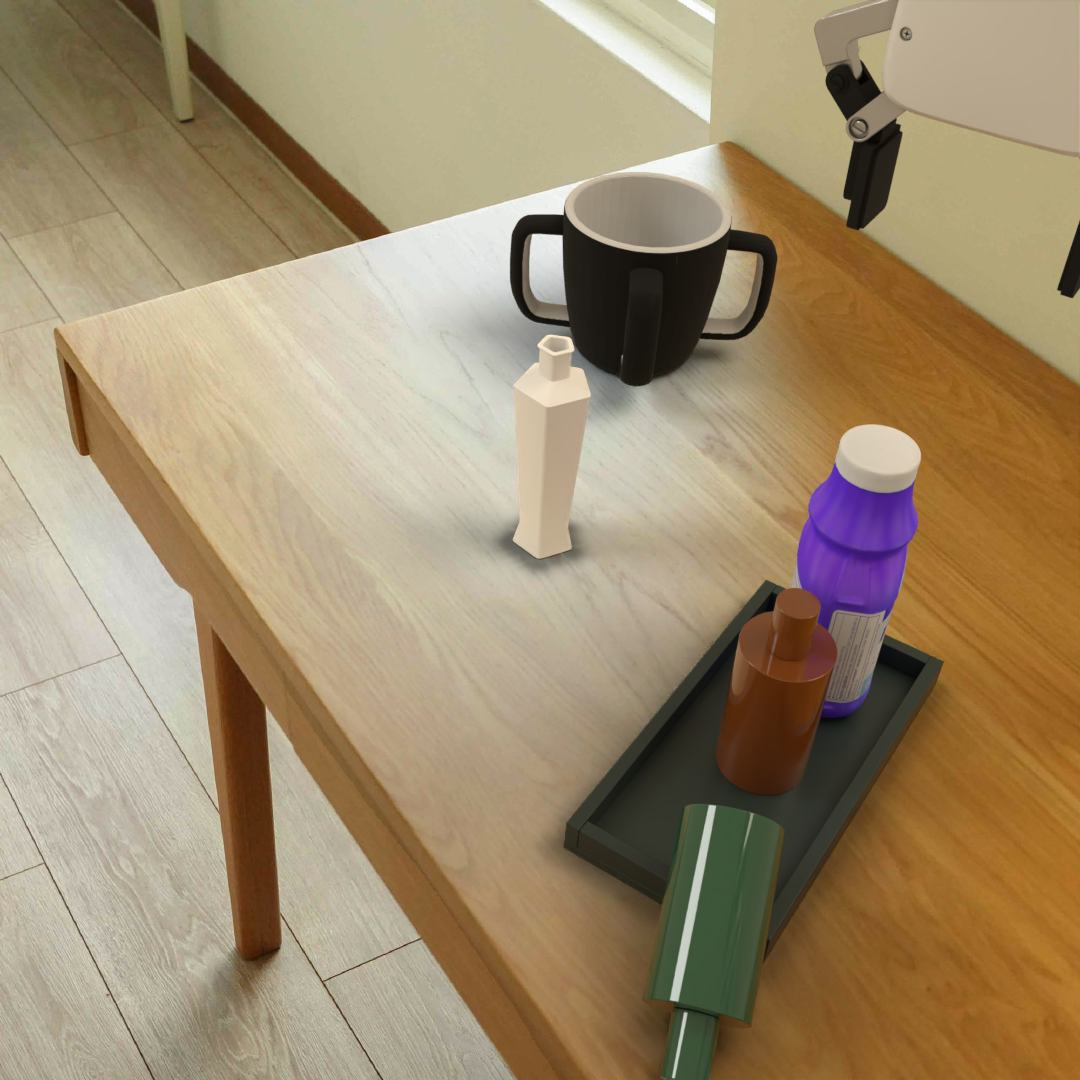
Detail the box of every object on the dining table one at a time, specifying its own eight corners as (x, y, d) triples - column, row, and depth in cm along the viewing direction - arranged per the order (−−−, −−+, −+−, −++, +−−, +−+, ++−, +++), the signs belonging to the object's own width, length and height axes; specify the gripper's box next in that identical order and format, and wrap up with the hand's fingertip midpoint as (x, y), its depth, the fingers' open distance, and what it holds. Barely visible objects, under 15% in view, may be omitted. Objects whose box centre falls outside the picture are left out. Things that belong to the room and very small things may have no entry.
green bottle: (807, 837, 64) (763, 1104, 59) (728, 837, 68) (681, 1088, 63) (737, 802, 61) (685, 1078, 56) (660, 804, 65) (605, 1063, 60)
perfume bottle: (502, 557, 86) (510, 362, 76) (514, 513, 90) (523, 321, 80) (572, 567, 86) (590, 372, 76) (582, 523, 89) (600, 331, 79)
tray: (935, 685, 80) (944, 661, 78) (763, 964, 65) (770, 940, 64) (760, 603, 84) (766, 578, 83) (563, 847, 70) (565, 822, 68)
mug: (779, 370, 104) (807, 230, 96) (612, 434, 97) (628, 289, 89) (649, 274, 114) (665, 140, 106) (489, 326, 106) (493, 186, 99)
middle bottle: (820, 751, 75) (866, 595, 67) (781, 810, 72) (823, 654, 64) (740, 711, 77) (775, 555, 69) (698, 767, 74) (730, 610, 66)
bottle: (866, 737, 76) (943, 499, 64) (765, 720, 76) (823, 481, 65) (865, 645, 81) (936, 411, 70) (771, 630, 82) (825, 396, 70)
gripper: (1356, -152, 48) (1186, 276, 59) (897, -229, 55) (823, 167, 66) (1318, -106, 43) (1140, 351, 54) (820, -197, 50) (754, 225, 61)
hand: (966, 250), depth 60 cm, fingers open, 9 cm apart
